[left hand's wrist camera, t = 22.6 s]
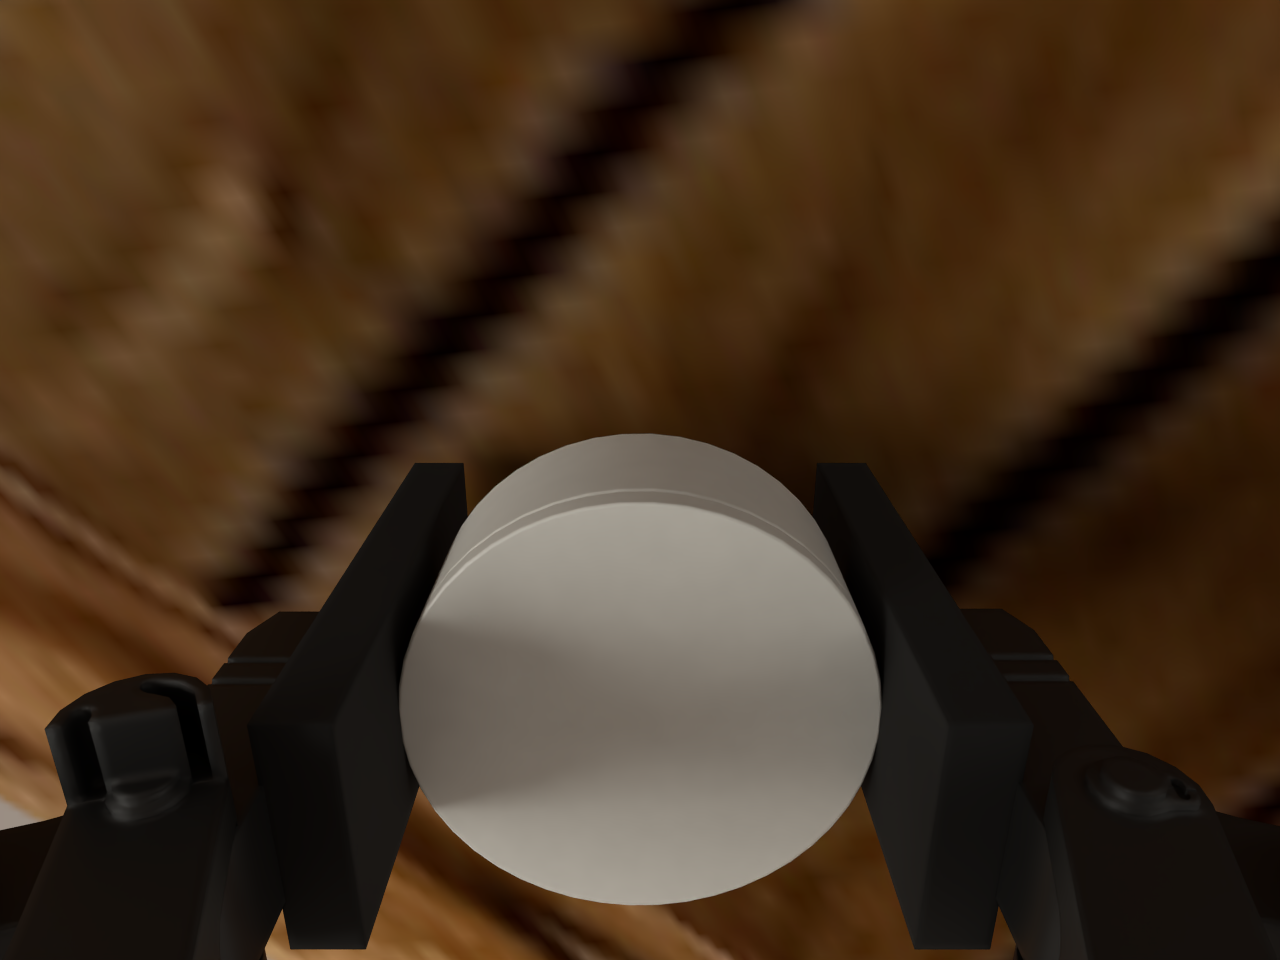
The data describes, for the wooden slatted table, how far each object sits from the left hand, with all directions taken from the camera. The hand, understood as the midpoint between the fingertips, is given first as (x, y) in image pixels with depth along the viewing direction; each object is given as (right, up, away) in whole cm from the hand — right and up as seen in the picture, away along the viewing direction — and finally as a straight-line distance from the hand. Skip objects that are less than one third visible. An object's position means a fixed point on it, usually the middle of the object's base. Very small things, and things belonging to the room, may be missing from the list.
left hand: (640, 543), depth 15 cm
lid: (0, -2, -4) cm, 4 cm away
